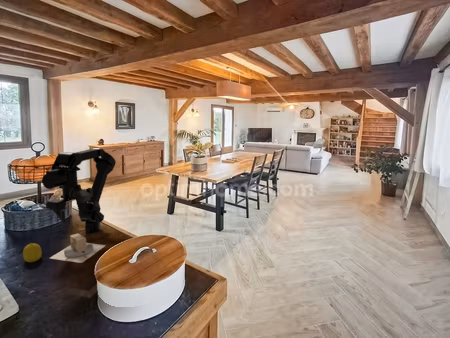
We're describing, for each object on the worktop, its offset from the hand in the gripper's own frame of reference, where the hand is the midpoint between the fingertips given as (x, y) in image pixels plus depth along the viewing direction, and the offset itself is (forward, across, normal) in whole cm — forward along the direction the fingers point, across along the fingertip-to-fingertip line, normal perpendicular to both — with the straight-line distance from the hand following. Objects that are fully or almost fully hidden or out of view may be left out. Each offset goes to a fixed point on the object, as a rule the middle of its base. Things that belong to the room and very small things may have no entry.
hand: (72, 218), depth 109 cm
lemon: (+12, -16, +3) cm, 21 cm away
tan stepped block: (+10, -6, -8) cm, 15 cm away
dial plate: (+12, -6, -8) cm, 16 cm away
